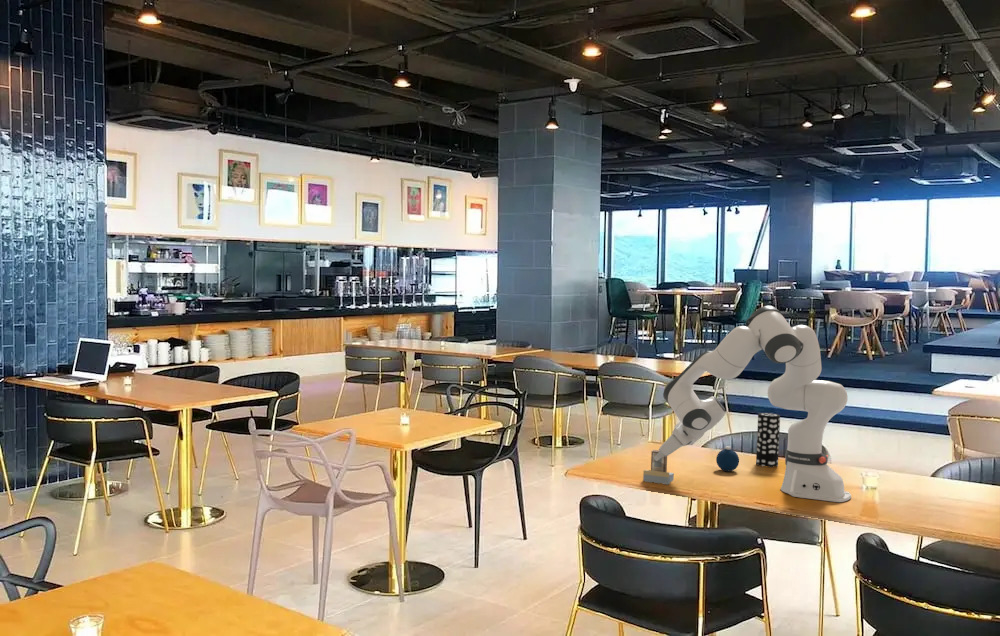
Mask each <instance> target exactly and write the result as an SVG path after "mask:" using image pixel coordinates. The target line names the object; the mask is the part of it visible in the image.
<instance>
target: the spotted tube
mask: <svg viewBox="0 0 1000 636" xmlns="http://www.w3.org/2000/svg"><path fill="white" fill-rule="evenodd" d="M780 424H781V415H780V414H778V413H773V412H772V413H770V412H759V413H757V430H756V432H757V433H756V435H757V436H756V454H755V457H756V459H755V465H757V464H758V465H757V466H759V465H761V466H760V467H763V466H769V467H768V468H774V467H773V466H777V467H779V453H780V452H779V450H780V448H779V447H780V429H781V428H780Z"/></svg>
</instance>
